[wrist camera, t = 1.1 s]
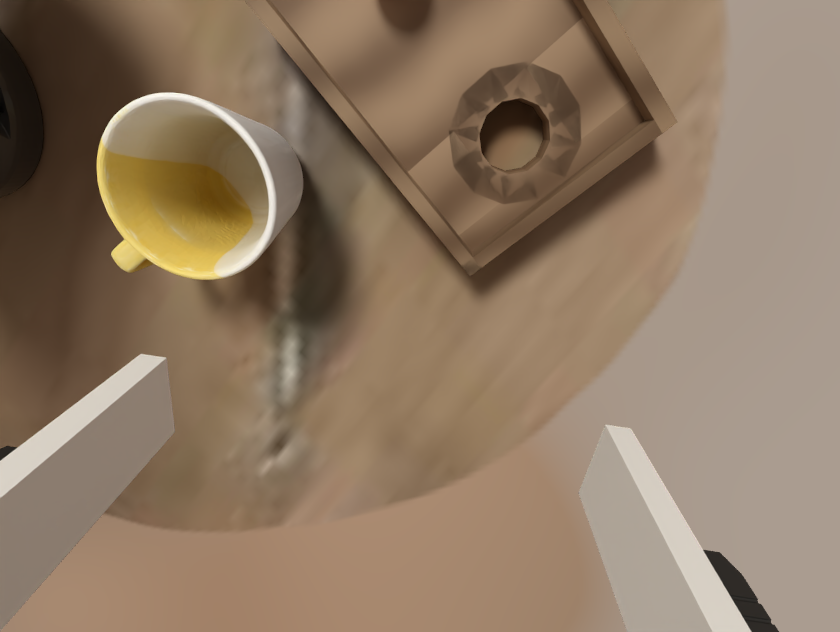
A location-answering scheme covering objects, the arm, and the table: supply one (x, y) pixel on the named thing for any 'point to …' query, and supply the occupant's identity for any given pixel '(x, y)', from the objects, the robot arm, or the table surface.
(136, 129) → the mug
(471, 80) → the board
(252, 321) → the table surface
